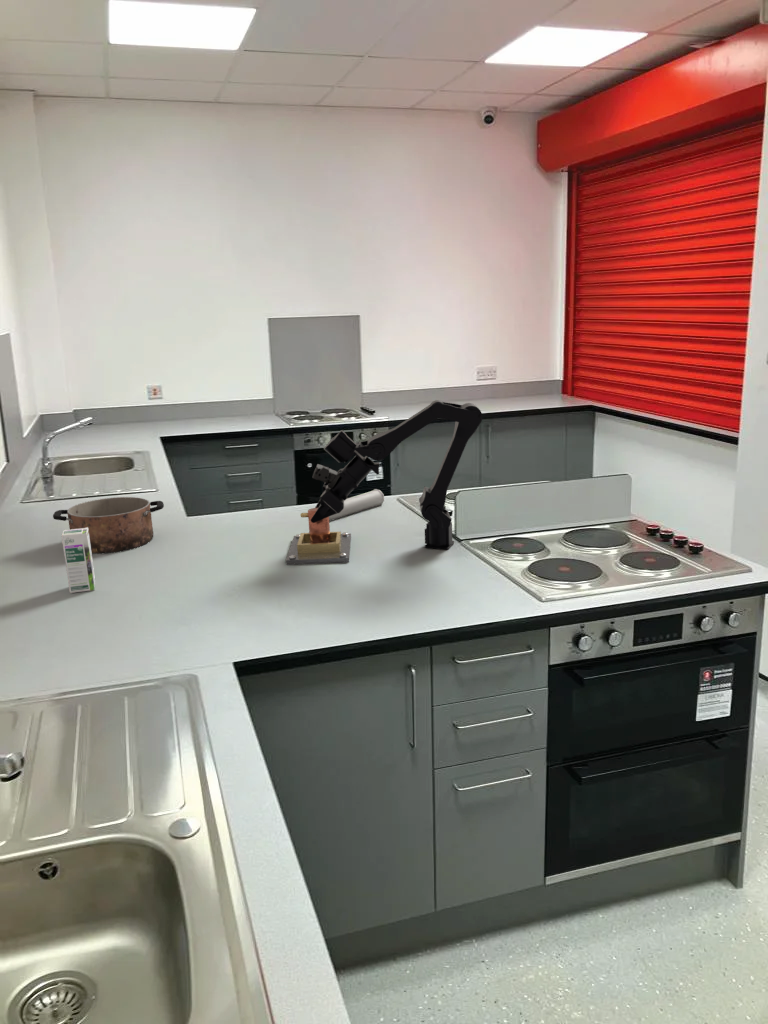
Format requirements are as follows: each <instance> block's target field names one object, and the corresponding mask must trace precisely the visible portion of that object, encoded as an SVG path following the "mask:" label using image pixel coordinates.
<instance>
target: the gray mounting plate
mask: <svg viewBox="0 0 768 1024" xmlns="http://www.w3.org/2000/svg"><path fill="white" fill-rule="evenodd" d="M351 541H352V533H349V532H348V531H347V532H342V531H330V543H310V536H309V532H301V533H300V534H299V533H298V534H296V535H294V536H293V537H292V541H291V544H290V546H289V550H288V553H287V556H286V559H285V564H286V565H287V566H289V565H290V566H291V565H313V564H314V565H315V564H316V565H317V564H318V565H319V564H337V563H339V564H340V563H350V555H351Z"/></svg>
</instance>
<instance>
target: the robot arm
mask: <svg viewBox="0 0 768 1024" xmlns="http://www.w3.org/2000/svg"><path fill="white" fill-rule="evenodd" d="M439 418H442V419H445V420H449V421H452V422H454V428H453V435H452V437H451V440H450V443H449V444H448V447H447V449H446V451H445V454H444V457H443V459H442V461H441V464H440V466H439V468H438V471H437V474H436V476H435V479H434V481H433V482H432V484H431V485H430V487H427V486H424V487H423V489H422V490H423V491H422V495H420V497H419V498H418V501H419V502H418V503H419V508H420V513H421V515H422V517H423V519H424V520H426V521H428V522H427V523H426V525H425V526H426V528H424V544H425V545H424V548H426V549H437V550H449V548H451V547H452V546H453V545H454V544H455V541H454V540H453V522H452V518H451V515H450V513H449V511H448V510H447V509H446V508H445V504H446V498H447V493H448V488H449V487H450V484H451V481H452V479H453V478H454V475H455V472H456V469H457V467H458V465H459V463H460V460H461V457H462V456H463V453H464V451H465V449H466V446H467V444H468V442H469V440H470V439H471V438H472V436H473V435H474V434H475V432H476V431H477V429H478V428H479V426H480V425H481V423H482V421H483V412H482V410H481V409H480V408H479V407H478V406H477V405H476V404H474V403H472V402H466V403H463V404H458V403H452V402H446V401H442V400H439V399H438V400H437V399H435V400H433V401H432V402H431V403H430V404H429V405H427V406H425V407H424V408H422V409H421V410H419V411H417V412H416V413H415V414H413V415H411V416H410V417H408V419H406V420H404V421H402V422H401V423H399V424H398V425H396V426H395V427H393V428H390V429H388V430H384V431H382V432H379V433H377V434H375V435H372V436H371V437H370V438H369V439H367V440H364V441H356V442H355V441H354V440H353V439H352V438H351V437H349V436H348V435H347V433H346V432H345V431H344V430H343V429H342V430H340V431H339V432H338V433H337V434H336V435H335V436H334V437H333V436H332V438H331V439H330V440H328V442H327V444H326V445H325V446H323V447H324V448H323V450H324V451H325V452H326V453H328V454H329V455H330V456H331V457H332V458H333V459H334V460H335V461H336V462H338V463H339V464H341V463H343V464H344V463H345V464H346V463H347V462H348V463H347V464H346V465H344V467H343V468H339V470H334V469H332V468H329V467H328V466H325V465H322V464H319V463H317V464H316V467H315V469H314V471H313V473H312V479H314V480H316V481H320V482H323V483H324V484H323V486H322V494H321V495H320V497H319V500H318V502H317V504H316V506H315V507H314V508H318V509H317V511H316V512H315V514H314V515H313V517H312V518H311V522H312V523H315V522H317V521H320V520H322V519H324V518H327V517H329V516H332V515H334V514H337V513H340V512H341V511H342V510H343V509H344V501H345V500H346V499H347V498H348V496H349V495H350V494H351V493H352V492H353V491H354V490H357V488H358V487H359V485H360V483H361V482H362V481H364V479H365V478H366V477H367V476H368V475H369V474H370V473H371V471H373V472H374V474H376V475H380V469H379V468H380V461H383V460H384V459H386V458H387V457H388V456H389V455H390V454H391V453H392V452H394V450H396V449H397V447H398V446H399V445H400V444H401V443H402V442H403V441H405V440H406V439H407V438H409V437H411V436H412V435H414V434H416V433H417V432H418V431H420V430H422V429H423V428H425V427H427V425H429V424H432V422H434V421H435V420H437V419H439ZM354 455H355V456H354ZM352 457H353V458H352ZM351 458H352V459H351ZM350 459H351V460H350ZM374 461H376V462H374ZM378 461H379V462H378Z"/></svg>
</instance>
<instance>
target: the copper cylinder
mask: <svg viewBox="0 0 768 1024" xmlns="http://www.w3.org/2000/svg"><path fill="white" fill-rule="evenodd" d="M317 509H318V508H315V507H312V508H310V509H308V510H307V512H302V513H300V518H307V521H308V531H309V532H308V533H309V536H310V543H330V532H331V529H330V527H331V525H330V521H329V517H327V518H324V519H322V520H320V521H317V522H315V523H312V522H311V518H312V517H313V515H314V514H315V512H316V511H317Z"/></svg>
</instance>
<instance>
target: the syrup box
mask: <svg viewBox="0 0 768 1024" xmlns="http://www.w3.org/2000/svg"><path fill="white" fill-rule="evenodd" d="M61 542H62V548H63V549H62V550H63V555H64V561H65V568H66V574H67V575H66V576H67V581H68V590H69V594H75V593H81V592H89V591H90V592H92V591H95V588H96V578H95V569H94V561H93V554H92V552H91V545H90V538H89V530H88V527H87V528H81V529H71V530H70V529H64V530H63V531H62V534H61Z"/></svg>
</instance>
